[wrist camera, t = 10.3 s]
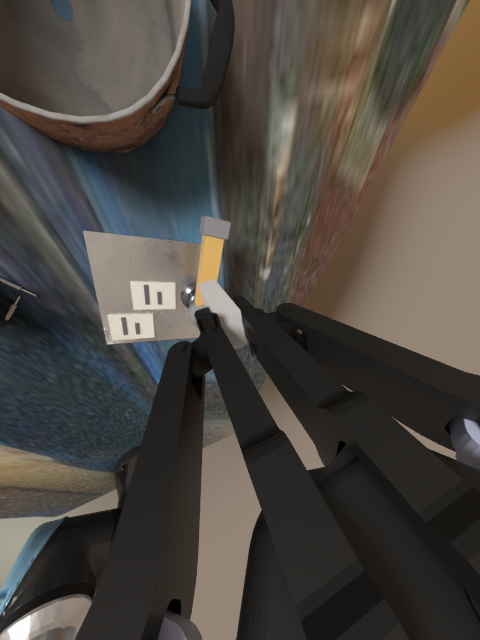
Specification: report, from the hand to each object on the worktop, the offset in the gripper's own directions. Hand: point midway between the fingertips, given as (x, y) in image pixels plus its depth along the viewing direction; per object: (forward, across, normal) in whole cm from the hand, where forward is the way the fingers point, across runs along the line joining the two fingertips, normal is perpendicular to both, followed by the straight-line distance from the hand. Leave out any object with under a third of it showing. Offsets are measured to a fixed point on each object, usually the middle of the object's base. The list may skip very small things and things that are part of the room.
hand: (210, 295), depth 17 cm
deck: (+20, -7, -5) cm, 21 cm away
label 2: (+19, -13, -9) cm, 25 cm away
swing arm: (+12, +2, -2) cm, 13 cm away
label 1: (+20, -7, -5) cm, 21 cm away
